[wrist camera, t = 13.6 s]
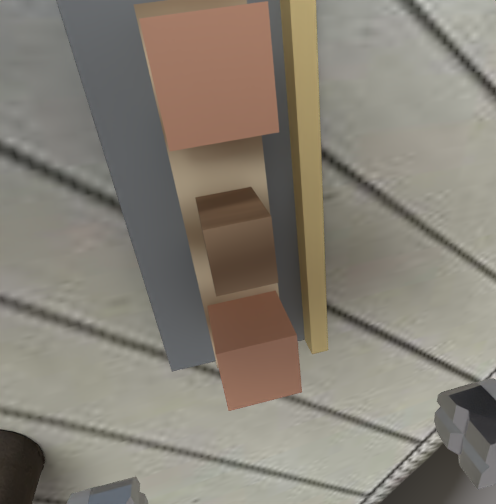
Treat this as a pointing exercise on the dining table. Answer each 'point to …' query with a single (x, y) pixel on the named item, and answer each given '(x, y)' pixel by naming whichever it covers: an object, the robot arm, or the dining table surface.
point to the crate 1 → (213, 74)
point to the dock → (161, 177)
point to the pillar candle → (19, 468)
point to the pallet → (209, 167)
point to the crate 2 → (255, 349)
